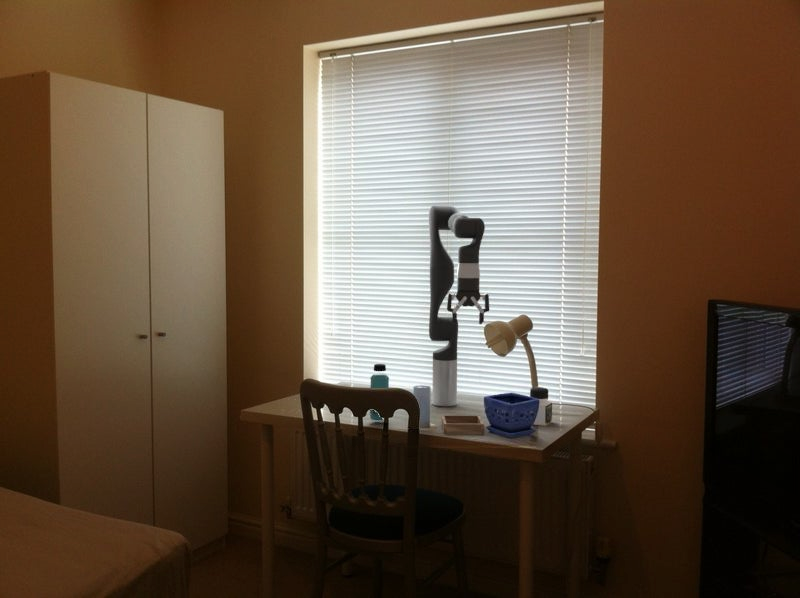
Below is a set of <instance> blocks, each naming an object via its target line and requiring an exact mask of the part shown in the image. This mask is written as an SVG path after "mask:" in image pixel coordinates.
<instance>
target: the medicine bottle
mask: <svg viewBox="0 0 800 598" xmlns="http://www.w3.org/2000/svg"><path fill="white" fill-rule="evenodd" d="M529 391H530V392H529V397H533V398H536V399H539V401H540V403H539V409H538V414H537V417H536V419H535V422H534V423H533V425H534V426H542V427H546V426H547V425H549V424H551V423H552V422H553V401H551V400H549V389H548V388H546V387H543V386H533V387H532V388H530V390H529Z"/></svg>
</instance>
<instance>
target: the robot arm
mask: <svg viewBox="0 0 800 598" xmlns="http://www.w3.org/2000/svg"><path fill="white" fill-rule="evenodd" d="M485 229H486V227H485V222H484V221H483V219H482V218H480V217H469V216H467V215H464V214H462V213H461V212H460V210H459V209H458V208H457V207H455V206H453V205H432V206H430V208H429V211H428V233H429V234H428V235H429V253H430V254H429V289H430V291H429V293H430V300H429V302H430V303H429V304H430V307H429V323H428V324H429V325H428V335H429V339H430V341H432V342H448V343H447V344H446V345H444V347H443V346H442V347H441V348H438V349H436V350H434V351H433V353H432V395H431V397H432V398H431V400H432V401H431V403H432V405H433V406H437V407H454V406H456V405H457V401H458V395H457V394H458V337H459V321H458V314H457V312H458V311H459V310H460V308H461V307H476V309H477V310H478V311H479V313H478V315H479V316H478V324H479V325H482V324H483V323H484V322H485V319H484V318H485V313H487V312H489V311H490V295H489V294H488V293H482V294H481V293H480V292H481V291H480V280H481V279H480V277H481V274H480V273H481V272H480V249H481V244H482V240H483V237H484V234H485ZM440 231H450V232H452V233H454V236H455V237H456V238H457V239H472V241H471V242H470V243H469V244H466V245H465V244H464V245H460V247H459V248H458V250H457V251H458V254H457V255H458V256H457V259H458V261H457V263H458V264H457V270H456V271H457V272H456V273H457V275H456V276H457V277H456V278H457V281H456V283H457V284H456V293H450V290H451V289H452V287H453V285H454V282H455V265H454V261H453V259H452V257H451V255H450V254H449V253H448V251H447V249H446V248H445V246H444V244H443V241H442V239H441V235H440ZM446 296H447V302H446V303H447V304H446V305H447V306H446V310H447V311H448V312H450V313H451V314H452V315H451V316H439V311H440V308H441V306H442V304H443V301H444V300H445V298H446ZM455 298H456V300H457V301H458V302H457V303H456V304H455V305H454V308H452V301H454V300H455ZM480 299H482V301H484V307H482V306H481V304H480V303H479V300H480Z"/></svg>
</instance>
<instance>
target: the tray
mask: <svg viewBox="0 0 800 598" xmlns="http://www.w3.org/2000/svg"><path fill="white" fill-rule="evenodd" d="M441 427H442V431H443V434H444V435H446V434H451V435H453V434H455V435H456V434H457V435H458V434H459V435H462V434H463V435H465V434H466V435H467V434H469V435H472V434H473V435H481V434H485V423H484V422H483V420H482V417H481V415H480V414H441Z"/></svg>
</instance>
